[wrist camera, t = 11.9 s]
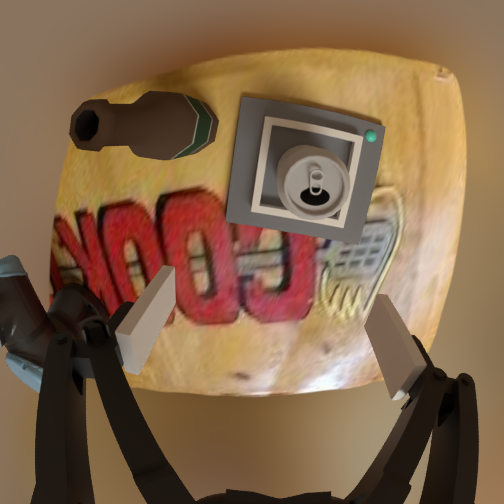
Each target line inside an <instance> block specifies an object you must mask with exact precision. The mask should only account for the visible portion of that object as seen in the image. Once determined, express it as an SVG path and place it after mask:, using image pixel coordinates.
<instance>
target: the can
mask: <svg viewBox="0 0 504 504" xmlns="http://www.w3.org/2000/svg"><path fill="white" fill-rule="evenodd" d="M277 190H278V195H279V197H280V199H281V201H282V203H283V205H284V206H285V207H286V208H287V209H288V210H289V211H290V212H291V213H292V214H294V215H296V216H298V217H299V218H302V219H307V220H322V219H325V218H328V217H330V216H332V215H334V214H335V213H336V212H337V211H339V210H340V209H341V208H342V207H343V205H344V203H345V202H346V200H347V199H348V195H349V191H350V176H349V173H348V171H347V168H346V166H345V164H344V163H343V162H342V161H341V160H340V158H339V157H338V156H337V155H335V154H333V153H332V152H330V151H328V150H326V149H322V148H318V147H314V146H309V145H298V146H295V147H293V148H290V149H289V150H287V151H286V152H285V153H284V154H283V155H282V157H281V158H280V160H279V162H278V166H277Z"/></svg>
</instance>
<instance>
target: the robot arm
mask: <svg viewBox="0 0 504 504" xmlns="http://www.w3.org/2000/svg"><path fill="white" fill-rule="evenodd" d="M175 303H176V299H175V267H171V266H165V265H163V267H162V268H161V269H160V270H159V272H158V273H157V274H156V276H155V277H154V278H153V280H152V281H151V282H150V284H149V285H148V286H147V288H146V289H145V290H144V292H143V293H142V294H141V296H140V297H139V299H138V300H137V301H136V303H133V302H129V301H127V302H125V303H124V304H122V305H120V307H119V308H118V309H117V310H116V312H115V313H114V314H113V316H112V317H111V318H110V320H109V317H108V314H107V312H106V310H105V308H104V307H103V305H102V304H101V302H100V301H99V300H98V299H97V298H96V297H95V296H94V295H93V294H92V293H91V292H90V291H89V290H87V289H86V288H84V287H82V286H80V285H78V284H74V283H69V284H66V285H64V286H63V287H62V288H61V289H60V290H58V292H57V293H56V295H55V298H54V300H53V302H52V304H51V306H50V308H49V310H48V312H47V313H46V311H45V310H44V308H43V306H42V304H41V302H40V300H39V298H38V296H37V294H36V292H35V290H34V288H33V286H32V284H31V282H30V280H29V278H28V274H27V272H25V270H24V268H23V266H22V264H21V262H20V259H19V258H18V257H17V256H15V255H9V256H7V257H5V258H3V259H0V348H1V347H2V346H3V345H5V347H6V348H7V350H8V352H9V353H7V354H6V357H5V360H6V363H7V364H8V366H9V368H10V369H11V370H12V371H13V373H14V374H15V375H16V376H17V377H18V378H20V380H22V381H23V382H24V383H25V384H26V385H28V386H29V387H30V388H32V389H33V390H35V391H36V392H38V393H40V394H39V401H38V410H37V421H36V438H35V473H36V485H35V488H34V492H33V495H32V499H31V503H30V504H95V500H94V493H93V487H92V480H91V474H90V466H89V456H88V445H87V430H86V378H95V380H96V383H97V387H98V390H99V394H100V397H101V400H102V403H103V406H104V409H105V411H106V414H107V417H108V419H109V422H110V425H111V427H112V430H113V432H114V435H115V437H116V440H117V442H118V444H119V447H120V449H121V451H122V453H123V455H124V458H125V460H126V462H127V464H128V466H129V468H130V470H131V472H132V474H133V478H134V481H135V483H136V485H137V487H138V489H139V490H140V492H141V494H142V496H143V497H144V499H145V501H146V502H147V504H403V503H404V501H405V500H406V498H407V496H408V494H409V492H410V490H411V485H410V484H409V482H410V480H411V478H412V476H413V474H414V471H415V469H416V467H417V465H418V463H419V461H420V459H421V456H422V454H423V452H424V450H425V447H426V445H427V442H428V440H429V437H430V435H431V432H432V440H431V448H430V454H429V461H428V466H427V472H426V477H425V482H424V486H423V491H422V495H421V499H420V502H419V504H475V503H474V501H475V493H476V485H477V473H478V454H479V434H478V433H479V432H478V412H477V400H476V391H475V383H474V380H473V379H472V377H471V376H470V375H468V374H466V373H461V374H459V376H458V377H457V378H456V379H453V378H448V377H447V375H446V373H445V372H444V371H443V370H442V369H440V368H436V367H434V365H433V363H432V361H431V360H430V358H429V356H428V354H427V352H426V350H425V349H424V348H423V345H422V343H421V342H420V340H419V339H418V338H417V337H416V336H415V335H411V334H410V332H409V331H408V329H407V327H406V325H405V324H404V322H403V320H402V319H401V317H400V315H399V313H398V312H397V310H396V308H395V307H394V305H393V303H392V302H391V300H390V299H389V297H388V295H385V294H377V296H376V299H375V301H374V304H373V307H372V309H371V312H370V314H369V316H368V319H367V321H366V324H365V326H364V327H365V330H366V332H367V335H368V337H369V340H370V342H371V345H372V347H373V350H374V352H375V355H376V358H377V360H378V363H379V366H380V369H381V371H382V374H383V377H384V380H385V382H386V385H387V388H388V391H389V394H390V397H391V400H399V399H403V398H404V397H405V395H406V394H407V393H409V396H410V398H409V399H408V400H407V402H406V403H405V404H404V405H403V407H402V408H401V409H403V410H402V412H401V414H400V416H399V418H398V420H397V422H396V424H395V426H394V428H393V429H392V431H391V433H390V435H389V437H388V438H387V440H386V442H385V443H384V445H383V447H382V449H381V450H380V452H379V453H378V455H377V457H376V458H375V460H374V461H373V463H372V465H371V466H370V467H369V469H368V470H367V472H366V473H365V475H364V476H363V478H362V479H361V480H360V482H359V483H358V485H357V486H356V487H355V489H354V490H353V491H352V492H351V493H350V494H349V495H348V496H347V497H346V498H345V499H344V500H343V499H340V498H337V497H333V496H331V491H329V492H316V493H304V494H300V495H296V496H292V497H288V498H283V499H279V498H274V497H270V496H266V495H263V494H259V493H255V492H249V491H238V490H230V489H227V490H226V493H220V494H214V495H210V496H207V497H204V498H201V499H199V500H198V501H195V500H194V498H193V497H192V496H191V494H190V493H189V492H188V490H187V489H186V487H185V486H184V484H183V483H182V481H181V480H180V478H179V477H178V475H177V474H176V472H175V471H174V469H173V468H172V466H171V465H170V464H169V462H168V461H167V459H166V458H165V456H164V454H163V453H162V451H161V449H160V448H159V446H158V444H157V442H156V440H155V438H154V437H153V435H152V433H151V431H150V429H149V427H148V425H147V423H146V421H145V419H144V417H143V415H142V413H141V411H140V409H139V407H138V405H137V402H136V400H135V398H134V396H133V394H132V391H131V389H130V387H129V384H128V382H127V379H126V377H125V375H124V372H123V369H122V366H123V364H124V368H125V371H126V372H129V373H132V374H136V375H139V374H140V372H141V370H142V368H143V366H144V364H145V362H146V360H147V358H148V356H149V354H150V352H151V350H152V348H153V346H154V344H155V342H156V340H157V338H158V336H159V334H160V332H161V330H162V328H163V326H164V324H165V323H166V321H167V319H168V317H169V315H170V313H171V311H172V309H173V307H174V305H175ZM432 429H433V431H432Z"/></svg>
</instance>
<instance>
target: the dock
mask: <svg viewBox="0 0 504 504" xmlns="http://www.w3.org/2000/svg"><path fill="white" fill-rule="evenodd" d="M384 133H385V126H382V125H378V124H375V123H372V122H369V121H365V120H362V119H358V118H355V117H351V116H347V115H343V114H340V113H335V112H331V111H327V110H323V109H318V108H313V107H309V106H303V105H298V104H293V103H287V102H281V101H274V100H267V99H260V98H252V97H243V96H242V101H241V108H240V114H239V121H238V128H237V135H236V142H235V150H234V157H233V165H232V172H231V180H230V188H229V197H228V205H227V213H226V222H231V223H237V224H244V225H250V226H256V227H262V228H268V229H274V230H280V231H286V232H291V233H297V234H303V235H308V236H314V237H319V238H325V239H330V240H336V241H341V242H346V243H352V244H357V245H359V241H360V238H361V234H362V231H363V227H364V223H365V220H366V216H367V212H368V208H369V204H370V200H371V196H372V192H373V188H374V184H375V179H376V175H377V170H378V165H379V160H380V155H381V150H382V145H383V139H384ZM298 145H309V146H314V147H318V148H322V149H326V150H328V151H330V152H332V153H333V154H335V155H337V156H338V157H339V158H340V160H341V161H342V162H343V163H344V164H345V166H346V168H347V171H348V173H349V176H350V191H349V195H348V199H347V200H346V202H345V203H344V205H343V207H342V208H341V209H340V210H339V211H337V212H336V213H335V214H334V215H332V216H330V217H328V218H325V219H322V220H307V219H302V218H299V217H298V216H296V215H294V214H292V213H291V212H290V211H289V210H288V209H287V208H286V207H285V206H284V205H283V203H282V201H281V199H280V197H279V195H278V190H277V166H278V162H279V160H280V158H281V157H282V155H283V154H284V153H285V152H286V151H287V150H289V149H290V148H293V147H295V146H298Z"/></svg>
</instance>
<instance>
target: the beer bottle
mask: <svg viewBox="0 0 504 504" xmlns="http://www.w3.org/2000/svg"><path fill="white" fill-rule="evenodd" d="M218 123H219V120H218V119H217V117H216V116H215V115H214V113H213V112H212V110H211V109H210V107H209V106H208V105H207V104H206V103H204V102H202V101H199V100H197V99H194V98H192V97H189V96H187V95H184V94H181V93H174V92H159V91H149V92H147V93H145V94H143V95H142V96H141V97H140V98H139V99H138V100H136V101H135V102H134V103H132V104H109V102H108V100H107V99H95V100H88V101H85V102H83V103H82V104H81V106H80V107H79V108H78V109H77V110H76V111H75V112H74V114H73V115H72V117H71V124H70V132H69V135H70V137H71V138H72V140H73V142H74V144H75V146H76V147H77V148H78V149H82V150H89V151H100V150H101V149H102V148H103V147H104V146H129V147H130V149H131V150H132V152H133V153H134V154H135V155H137V156H138V157H144V158H151V159H158V160H172V159H176V158H179V157H183V156H188V155H192V154H195V153H198V152H199V151H201V150H202V149H203V148H205V147H206V146H208V145H209V144H211V143H212V142H214V141H215V137H216V132H217V127H218Z"/></svg>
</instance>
